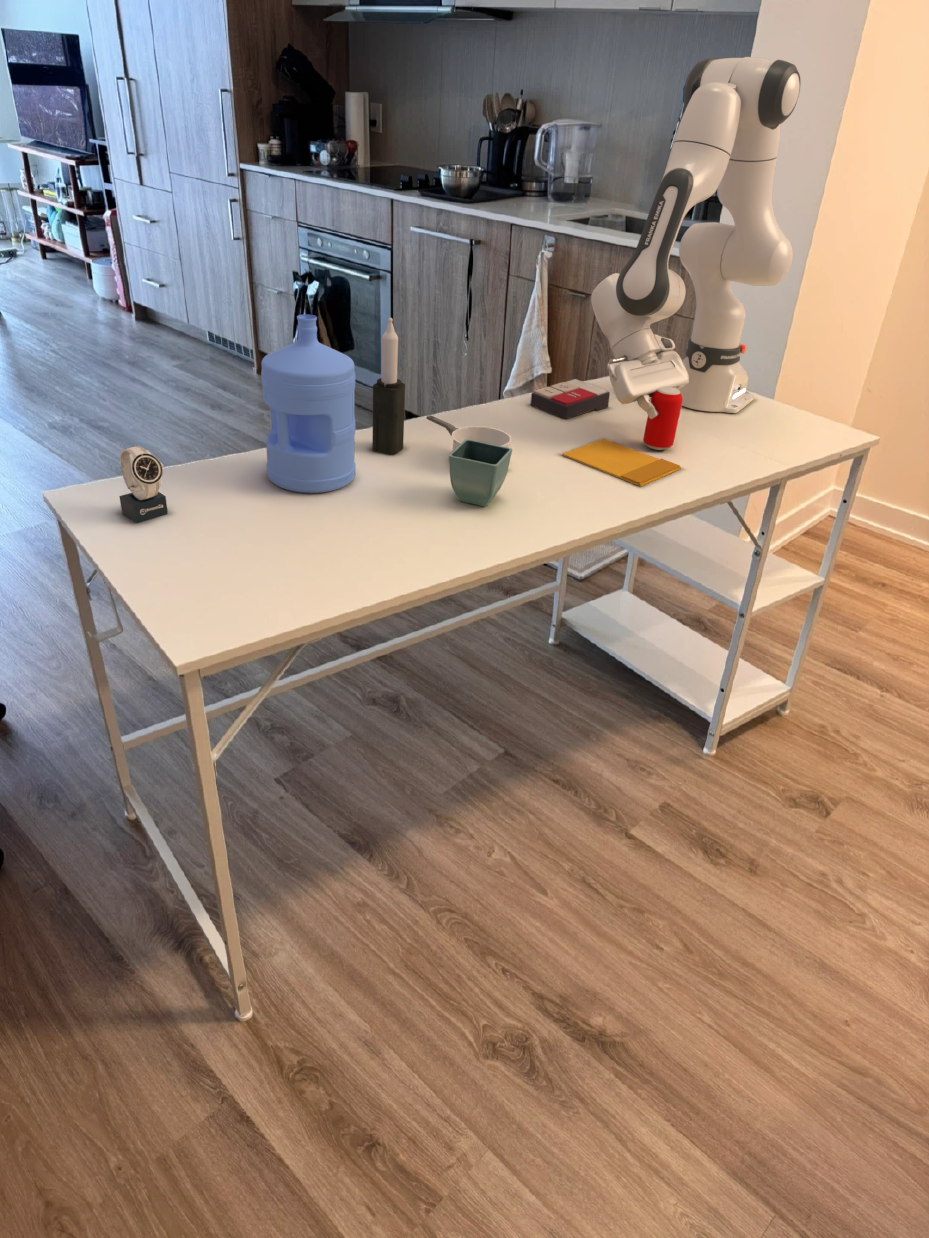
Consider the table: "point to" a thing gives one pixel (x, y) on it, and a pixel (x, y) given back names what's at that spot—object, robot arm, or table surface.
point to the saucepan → (474, 434)
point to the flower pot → (478, 471)
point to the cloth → (622, 462)
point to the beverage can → (663, 418)
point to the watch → (142, 485)
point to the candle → (388, 399)
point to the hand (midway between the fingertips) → (666, 414)
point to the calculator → (570, 398)
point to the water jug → (310, 414)
